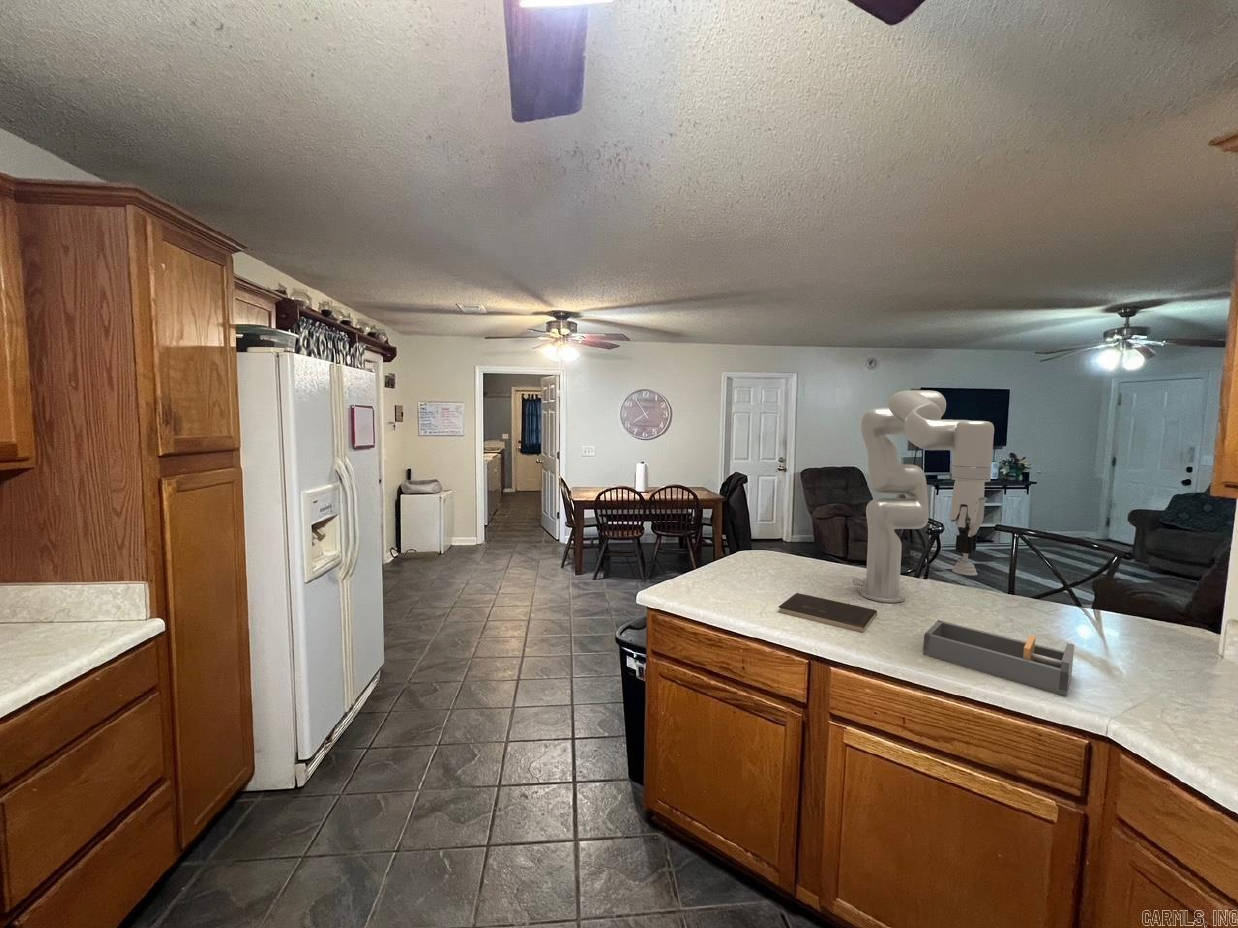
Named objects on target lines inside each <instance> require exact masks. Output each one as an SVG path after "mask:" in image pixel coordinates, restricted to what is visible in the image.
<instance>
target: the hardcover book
mask: <svg viewBox="0 0 1238 928" xmlns="http://www.w3.org/2000/svg"><path fill="white" fill-rule="evenodd" d="M778 608H779V613H780V614H781V613H782V614H785V615H790V616H794V617H798V618H802V619H806V620H810V621H815V622H818V623H823V624H827V625H831V626H834V627H840V628H843V629H847V630H851V631H856V632H860V633H864V631H865V630H866V629H867V627H868V626H869V625H870V624H871V622H872V621H873V620H874V618H876V616H877V615H878V610H877V609H873V608H869V607H865V606H860V605H854V604H850V603H846V602H842V601H837V600H833V599H832V600H831V599H827V598H824V597H818V596H813V595H810V594H809V595H808V594H803V593H799V592H796V593H794V594H793V595H792V596H790V597H789V598H788V599H787V600H785V601H784V602H783V603H781V604H780V605H778Z"/></svg>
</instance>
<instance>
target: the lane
mask: <svg viewBox="0 0 1238 928" xmlns="http://www.w3.org/2000/svg"><path fill="white" fill-rule="evenodd" d="M923 634H924V635H923V647H922V654H923V655H925V656H928V657H930V658H935V659H938V660H941V661H945V662H948V663H951V664H955V665H959V666H961V667H966V668H967V669H972V670H975V671H979V672H981V673H985V674H988V675H989V674H990V675H992V676H995V677H999V678H1003V679H1006V680H1010V681H1011V682H1012V681H1013V682H1016V683H1020V684H1023V685H1027V686H1030V687H1032V688H1036V689H1039V690H1040V689H1041V690H1044V691H1047V692H1049V693H1054V694H1058V695H1061V696H1064V697H1067V696H1068V691H1069V688H1070V683H1071V679H1072V675H1073V664H1074V651H1075V644H1074V643H1073V644H1072V643H1069V642H1067V643H1066V646H1065V648H1064V650H1061V649H1056V648H1053V647H1048V646H1044V645H1040V644H1036V643H1035V649H1034V654H1038V655H1042V656H1045V657H1049V658H1053V659H1057V660H1061V661H1062V662H1061V666H1058V665H1054V664H1050V663H1046V662H1043V661H1039V660H1035V659H1034V661H1030V660H1026V659H1023V652H1024V646H1025V644H1026V642H1027V641H1023V640H1021V639H1015V638H1013V637H1008V636H1003V635H999V634H995V633H991V632H988V631H983V630H980V629H976V628H971V627H967V626H964V625H959V624H956V623H951V622H947V621H943V620H939V619H937V620H936V622H934V624H933V625H932V626H931V627H930V628H929V629H928V630H927V631H926V632H925V633H923Z"/></svg>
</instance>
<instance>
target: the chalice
mask: <svg viewBox="0 0 1238 928" xmlns="http://www.w3.org/2000/svg"><path fill="white" fill-rule="evenodd" d="M987 500H988V497H986V496H984V499H979V503H980V504H979V511H978V516H977V520H976V523H974V524H972V536H973V535H975V533H976V532H977V533H978V530H979V528H980V527H981V525H982V523H983V521H984V517H985V503H986V502H987ZM958 516H959V514H958ZM958 516H957V518H958ZM970 520H971V518H970ZM970 520H966V523H970V522H969V521H970ZM954 523H955V525H956V527H957V526H958V519H956V521H954ZM968 528H969V526H968ZM968 530H969V529H968ZM977 533H976V534H977ZM969 555H970V554H966V553H962V556H963V557H962V559H961V560H958V561H956V563H955V565H954V566H953V568H952V569H951V571H952V572H954V573H955V574H959V575H965V576H978V572H977V569H976V567H975V565H974V563H972V562H971V561H970V560H969Z"/></svg>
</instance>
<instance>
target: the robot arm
mask: <svg viewBox="0 0 1238 928" xmlns="http://www.w3.org/2000/svg"><path fill="white" fill-rule="evenodd" d="M946 409H947V401H946V398H945V397H944V395H943V394H942V393H941V392H939V391H936V390H930V389H929V390H928V389H927V390H923V389H922V390H920V389H918V390H916V389H914V390H912V389H911V390H910V389H909V390H900V391H898V392H896V393H894V394H892V396H891V397H890V398H889V400H888V407H876V408H875V407H874V408H871V409H868V410H866V411H865V413H864V414H863V416H862V418H861V421H860V423H861V424H860V430H861V436H862V439H863V442H864V445H865V447H866V453H867V464H868V465H867V466H868V483H869V486H870V489H871V491H872V492H874V493H876V494H881V495H882V494H883V495H886V494H887V495H904V497H905V498H902V497H901V498H899V497H898V498H897V497H877V498H874V499H872V500H870V501H869V502H868V503H867V505H866V507H865V509H866V510H865V514H866V522H867V553H866V554H867V556H866V574H865V578H860V577H853V579H852V583H853V585H854V586H860V587H861V588H860V589H859V594H860V595H861V596H862V597H863V598H866V599H868V600H872V601H875V602H881V603H888V604H889V603H890V604H894V603H901V602H903V601H905V595H904V594H903V593H902V592H901V591H900V585H901V584H900V583H901V563H902V550H903V549H902V547H903V546H902V545H903V544H902V541H901V539H900V537H899V536H898V535H897V533H896V532H895V530H901V529H903V530H908V529H910V530H916V529H917V530H918V529H919V530H920V529H922V528H924V527H925V526H927V524H928V522H929V516H930V515H929V512H930V511H929V499H928V488H927V478H926V475H925V472H924V471H923V469H922V468H921V467H920V466H918V465H916V464H909V463H908V464H907V463H906V464H904V463H902V464H901V463H899V459H898V457H899V456H898V449H897V448H896V446H895V444H894V443H893V442H892V440H891V439H890V438H889V437H887V435H891V436H893V435H894V436H896V435H898V436H899V435H901V436H905V437H906V439H907V440H908V442H909V443H911V444H913V445H914V446H915V447H918V448H919V449H922V450H926V451H952V463H951V464H952V465H951V480H954V484H953V489H952V497H951V505H950V513H949V521H950V522H952V523H955V521H956V519H958V526H957V525H956V527H957V528H956V535H955V552H956V553H962V554H963V553H966V554H969V555H972V554H973V552H975V551H976V550H977V540H978V539H977V538H978V534H977V533H978V531H977V532H976V533H975V535H973V536H972V524H974V523H976V520H977V516H978V511H979V504H980V503H979V499H984V497H985V483H988V482H991V477H992V463H993V451H994V450H993V448H994V434H995V426H994V424H993V422H990V421H985V420H968V419H942V417H943V416H944V414H945V412H946ZM958 514H959V516H958ZM957 516H958V518H957ZM970 518H971V520H970ZM966 520H970V521H969V522H970V523H966ZM968 526H969V528H968ZM968 529H969V530H968Z"/></svg>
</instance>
